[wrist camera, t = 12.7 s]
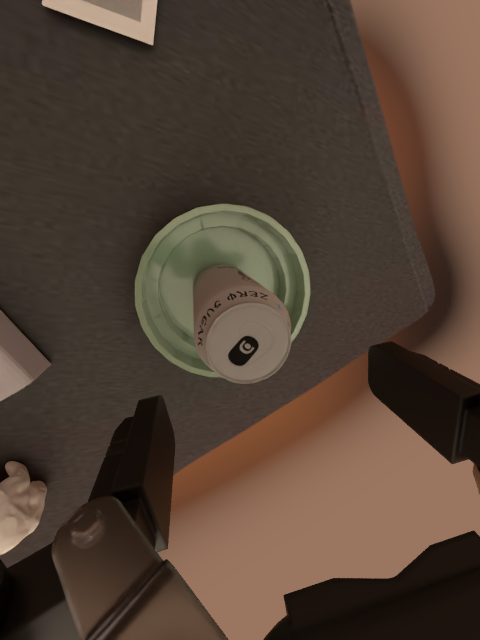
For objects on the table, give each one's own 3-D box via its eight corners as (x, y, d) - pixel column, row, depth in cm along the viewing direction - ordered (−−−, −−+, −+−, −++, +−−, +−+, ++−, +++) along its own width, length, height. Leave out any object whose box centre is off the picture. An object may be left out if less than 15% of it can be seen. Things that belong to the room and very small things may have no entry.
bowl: (124, 223, 26) (109, 220, 21) (284, 198, 27) (303, 190, 23) (165, 369, 31) (161, 393, 26) (297, 340, 33) (315, 358, 28)
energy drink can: (259, 286, 29) (322, 334, 15) (225, 327, 30) (254, 410, 16) (217, 250, 27) (244, 266, 13) (181, 295, 28) (170, 356, 14)
